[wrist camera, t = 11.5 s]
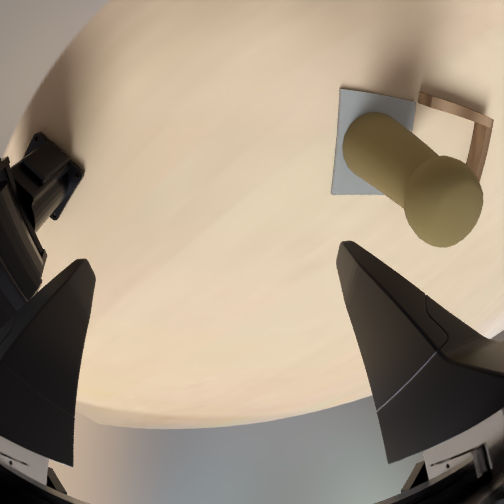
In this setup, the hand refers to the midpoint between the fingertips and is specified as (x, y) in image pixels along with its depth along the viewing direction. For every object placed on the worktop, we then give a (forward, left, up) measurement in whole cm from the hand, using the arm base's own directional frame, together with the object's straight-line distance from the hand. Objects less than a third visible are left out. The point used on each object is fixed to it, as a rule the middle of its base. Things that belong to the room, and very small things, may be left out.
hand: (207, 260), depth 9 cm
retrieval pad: (+10, -8, -13) cm, 18 cm away
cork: (+10, -8, -13) cm, 18 cm away
